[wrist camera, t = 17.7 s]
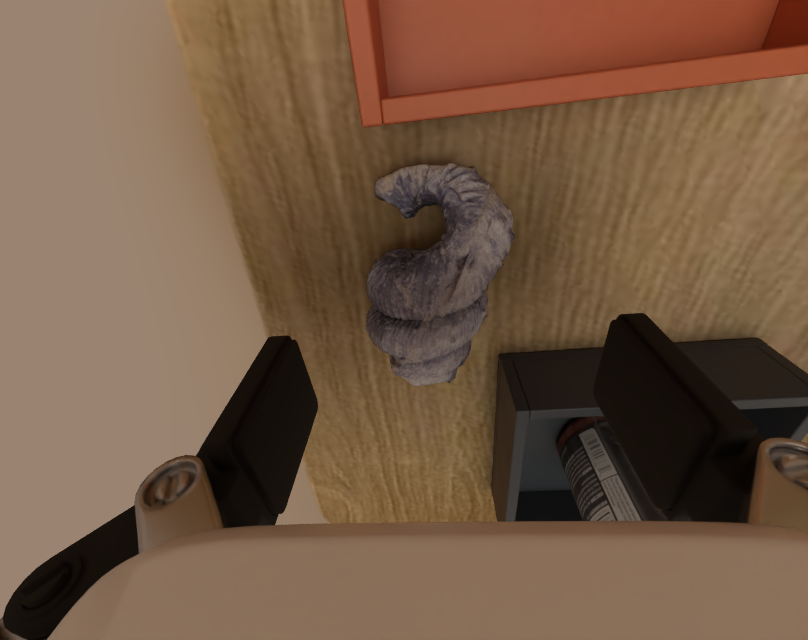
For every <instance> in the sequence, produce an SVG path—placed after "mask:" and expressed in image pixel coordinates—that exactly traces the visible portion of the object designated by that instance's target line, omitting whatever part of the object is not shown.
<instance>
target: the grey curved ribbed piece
mask: <svg viewBox="0 0 808 640" xmlns="http://www.w3.org/2000/svg"><path fill="white" fill-rule="evenodd" d="M375 195H376V197H377V198H379V199H380V200H383V201H387V202H388V203H390V204H391V205H393V206H395V207H396V208H398V209H399V210H400V211H401V213H402V214H403V216H404V217H405V218H406V219H407V218H411V217H415V215H416V213H417V212H418V210H419V209H421V208H422V207H424V206H429V205H439V206H440V207H441V208H442V212H443V213H444V217H445V221H446V233H445V234H443V235H442V238H441V240H440V241H439V242H437V243H436V244H434V245H433V246H432V247H431V248H429V249H427V250H422V249H403V248H400V249H395V250H392V251H388V252H387V253H386V254H384V255H382V256H381V257H380V258H379V259H377V260H376V261H375V264H374V266H373V268H372V270H371V271H370V273H369V274H368V277H367V295H368V298H369V300H370V302H371V303H372V306H371V308H370V310H369V311H368V314H367V318H366V323H367V324H366V330H367V332H368V334H369V337H370V338H371V339H372V341H373V343H374V344H375V345H376V346H378V347H379V349H381V350H382V351H384V352H386V353H388V354H390V362H391V369H392V370H393V372H394V374H395V375H396V376H399V377H402V378H404V379H406V380H407V381H408V382H409V383H410V384H411V385H413V386H421V385H430V384H435V383H439V382H448V383H450V382H451V381H452V380H453V379H454V378H455V376H456V372H457V369H458V367H461V366H462V365H463V364H464V362H465V360H466V358H467V357H468V355H469V353H470V349H471V338H472V337H473V336H475V334H476V332H477V331H478V330H479V329H480V327H481V325H482V323H483V320H484V318H485V317H487V302H488V299H487V296H486V294H485V291H486V290H487V288H488V284H489V283H490V282H491V281H492V279H493V278H494V277H495V275H496V273H497V271H498V269H499V268H500V267H501V266H502V265H504V264H503V259H504V258H505V257H506V256H507V255H508V252H509V250H510V247H511V244H512V242H513V240H514V237H515V235H514V234H513V233H512V226H513V215H512V213H511V210H510V209H509V208H508V207H507V206H506V205H505V204H504V203H502V202H501V200H500V198H499V197H498V195H497V194H496V191H495V190H494V189H493V187H492V185H491V184H490V183H489V182H487V181H485V180H484V179H483V178H482V177H481V176H480V175H478V173H477V171H476V169H475V167H469V168H468V167H464V166H460V165H456V164H452V163H449V164H448V165H441V166H438V165H416V166H410V167H405V168H402V169H399V170H397V171H395V172H393V173H392V174H390V175H387V176H385V177H378V179H377V181H376V186H375Z"/></svg>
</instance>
